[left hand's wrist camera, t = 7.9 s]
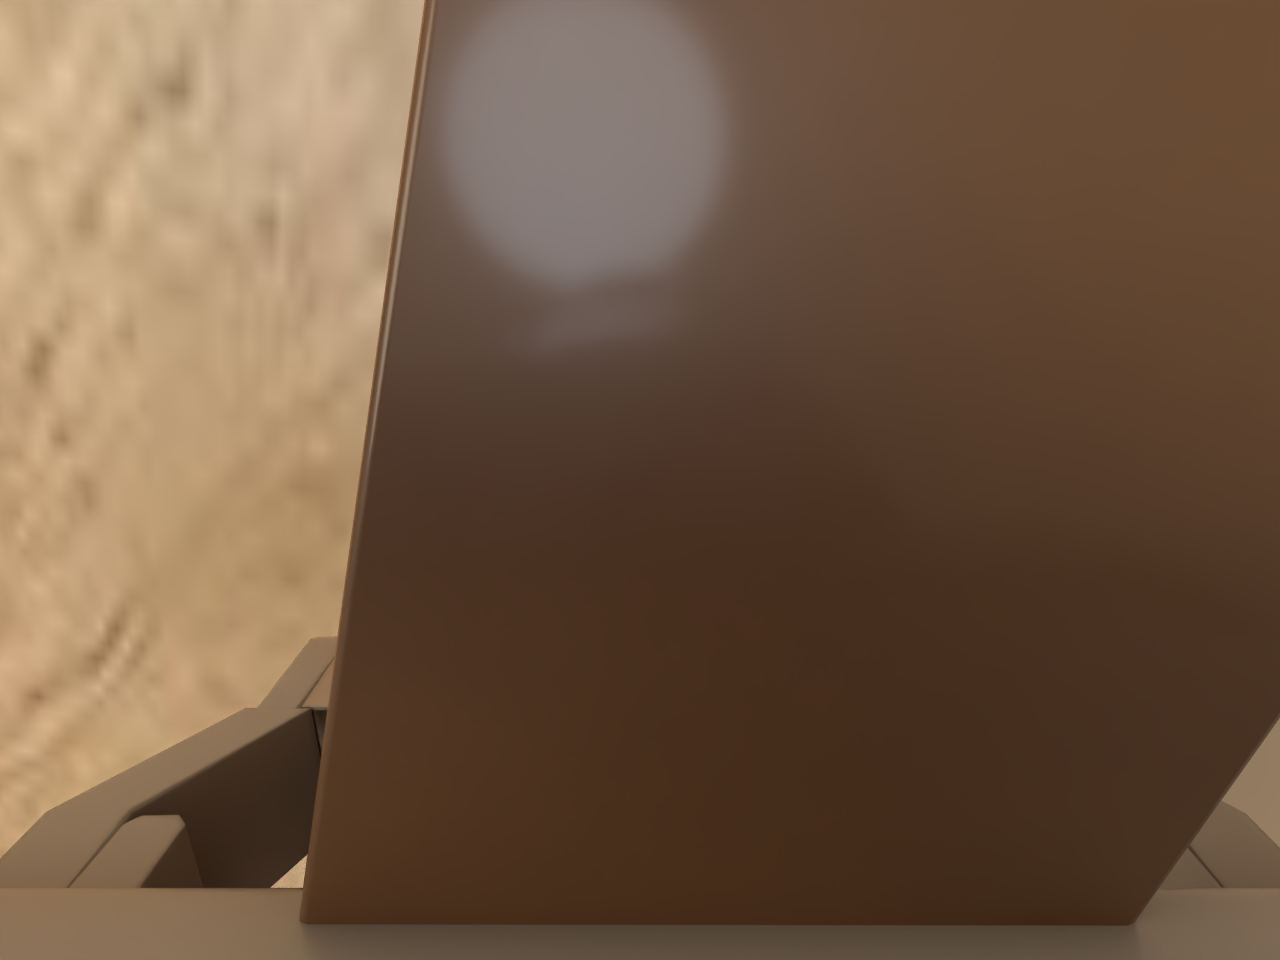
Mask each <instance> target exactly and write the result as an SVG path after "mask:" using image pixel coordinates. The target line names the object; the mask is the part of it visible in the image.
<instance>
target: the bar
mask: <svg viewBox="0 0 1280 960" xmlns="http://www.w3.org/2000/svg"><path fill="white" fill-rule="evenodd" d="M1279 718H1280V0H425V3H424V10H423V17H422V24H421V32H420V39H419V46H418V54H417V61H416V68H415V76H414V83H413V90H412V97H411V105H410V112H409V119H408V127H407V134H406V141H405V148H404V156H403V163H402V170H401V178H400V185H399V192H398V200H397V207H396V214H395V221H394V229H393V236H392V243H391V251H390V258H389V265H388V272H387V280H386V287H385V294H384V302H383V309H382V316H381V324H380V331H379V338H378V345H377V353H376V360H375V367H374V375H373V382H372V389H371V396H370V404H369V411H368V418H367V426H366V433H365V440H364V448H363V455H362V462H361V469H360V477H359V484H358V491H357V499H356V506H355V513H354V520H353V528H352V535H351V542H350V550H349V557H348V564H347V572H346V579H345V586H344V593H343V601H342V608H341V615H340V623H339V630H338V637H337V644H336V652H335V659H334V666H333V674H332V681H331V688H330V696H329V703H328V710H327V717H326V725H325V732H324V739H323V747H322V754H321V761H320V768H319V776H318V783H317V790H316V798H315V805H314V812H313V820H312V827H311V834H310V841H309V849H308V856H307V863H306V871H305V878H304V885H303V892H302V900H301V907H300V914H299V915H300V922H303V923H305V924H430V925H1071V926H1128V925H1130V924H1132V923H1134V922H1135V921H1136V919H1137V918H1138V917H1139V915H1140V914H1141V912H1142V911H1143V910H1144V908H1145V907H1146V905H1147V904H1148V903H1149V901H1150V900H1151V898H1152V897H1153V896H1154V894H1155V893H1156V891H1157V890H1158V888H1159V887H1160V886H1161V884H1162V883H1163V881H1164V880H1165V879H1166V877H1167V876H1168V874H1169V873H1170V872H1171V870H1172V869H1173V867H1174V866H1175V865H1176V863H1177V862H1178V860H1179V859H1180V858H1181V856H1182V855H1183V853H1184V852H1185V850H1186V849H1187V848H1188V846H1189V845H1190V843H1191V842H1192V841H1193V839H1194V838H1195V836H1196V835H1197V834H1198V832H1199V831H1200V829H1201V828H1202V827H1203V825H1204V824H1205V822H1206V821H1207V819H1208V818H1209V817H1210V815H1211V814H1212V812H1213V811H1214V810H1215V808H1216V807H1217V805H1218V804H1219V803H1220V801H1221V800H1222V798H1223V797H1224V795H1225V794H1226V793H1227V791H1228V790H1229V789H1230V787H1231V786H1232V784H1233V783H1234V781H1235V780H1236V779H1237V777H1238V776H1239V774H1240V773H1241V772H1242V770H1243V769H1244V767H1245V766H1246V765H1247V763H1248V762H1249V760H1250V759H1251V757H1252V756H1253V755H1254V753H1255V752H1256V750H1257V749H1258V748H1259V746H1260V745H1261V743H1262V742H1263V741H1264V739H1265V738H1266V736H1267V735H1268V734H1269V732H1270V731H1271V729H1272V728H1273V727H1274V725H1275V724H1276V722H1277V721H1278V720H1279Z"/></svg>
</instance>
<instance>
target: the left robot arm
mask: <svg viewBox="0 0 1280 960" xmlns="http://www.w3.org/2000/svg"><path fill="white" fill-rule="evenodd" d="M336 644H337V637H317V638H314V639H311V640H310V641H309V642H308V643H307V644H306V645H305V647H304V648H303V649H302V651H301V652H300V653H299V654H298V656H297V657H296V658H295V660H294V661H293V662H292V664H291V665H290V666H289V667H288V669H287V670H286V671H285V673H284V674H283V675H282V677H281V678H280V679H279V680H278V682H277V683H276V684H275V686H274V687H273V688H272V690H271V691H270V692H269V693H268V695H267V696H266V697H265V699H264V700H263V701H262V703H261V704H260V705H259V706H258V708H245V709H243V710H241V711H239V712H238V713H236V714H234V715H232V716H230V717H228V718H226V719H224V720H222V721H220V722H218V723H216V724H214V725H213V726H211V727H209V728H207V729H205V730H203V731H201V732H199V733H197V734H195V735H193V736H191V737H189V738H188V739H186V740H184V741H182V742H180V743H178V744H176V745H174V746H172V747H170V748H168V749H166V750H165V751H163V752H161V753H159V754H157V755H155V756H153V757H151V758H149V759H147V760H145V761H143V762H141V763H140V764H138V765H136V766H134V767H132V768H130V769H128V770H126V771H124V772H122V773H120V774H118V775H116V776H115V777H113V778H111V779H109V780H107V781H105V782H103V783H101V784H99V785H97V786H95V787H93V788H92V789H90V790H88V791H86V792H84V793H82V794H80V795H78V796H76V797H74V798H72V799H70V800H68V801H67V802H65V803H63V804H61V805H59V806H57V807H55V808H53V809H51V810H49V811H47V812H46V813H45V814H44V815H43V816H42V817H41V818H40V819H39V820H38V821H37V822H36V823H35V824H34V825H33V826H32V827H31V828H30V829H29V830H28V831H27V832H26V833H25V834H24V835H23V836H22V837H21V838H20V839H19V840H18V841H17V842H16V843H15V844H14V845H13V846H12V847H11V848H10V849H9V850H8V851H7V852H6V853H5V855H4V856H3V857H2V858H1V859H0V960H1280V848H1279V847H1278V845H1277V844H1276V843H1274V842H1273V840H1271V838H1270V837H1269V836H1268V835H1267V834H1266V833H1265V832H1264V831H1263V830H1262V829H1261V828H1260V827H1259V826H1258V825H1257V824H1256V823H1255V822H1254V821H1253V820H1252V819H1251V818H1250V817H1249V816H1248V815H1247V814H1246V813H1244V812H1242V811H1240V810H1238V809H1236V808H1234V807H1232V806H1230V805H1229V804H1227V803H1225V802H1223V801H1220V803H1219V804H1218V805H1217V807H1216V808H1215V810H1214V811H1213V812H1212V814H1211V815H1210V817H1209V818H1208V819H1207V821H1206V822H1205V824H1204V825H1203V827H1202V828H1201V829H1200V831H1199V832H1198V834H1197V835H1196V836H1195V838H1194V839H1193V841H1192V842H1191V843H1190V845H1189V846H1188V848H1187V849H1186V850H1185V852H1184V853H1183V855H1182V856H1181V858H1180V859H1179V860H1178V862H1177V863H1176V865H1175V866H1174V867H1173V869H1172V870H1171V872H1170V873H1169V874H1168V876H1167V877H1166V879H1165V880H1164V881H1163V883H1162V884H1161V886H1160V887H1159V888H1158V890H1157V891H1156V893H1155V894H1154V896H1153V897H1152V898H1151V900H1150V901H1149V903H1148V904H1147V905H1146V907H1145V908H1144V910H1143V911H1142V912H1141V914H1140V915H1139V917H1138V918H1137V919H1136V921H1135V922H1134V923H1132V924H1130V925H1128V926H1071V925H430V924H305V923H303V922H300V915H299V914H300V907H301V900H302V892H303V888H270V887H271V886H273V885H274V884H275V883H276V882H277V881H278V880H279V879H280V878H281V877H283V876H284V875H285V874H286V873H287V872H288V871H289V870H290V869H291V868H293V867H294V866H295V865H296V864H297V863H298V862H299V861H300V860H301V859H303V858H304V857H305V856H306V855H307V854H308V849H309V841H310V834H311V827H312V820H313V812H314V805H315V798H316V790H317V783H318V776H319V768H320V761H321V754H322V747H323V739H324V732H325V725H326V717H327V710H328V703H329V696H330V688H331V681H332V674H333V666H334V659H335V652H336Z"/></svg>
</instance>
